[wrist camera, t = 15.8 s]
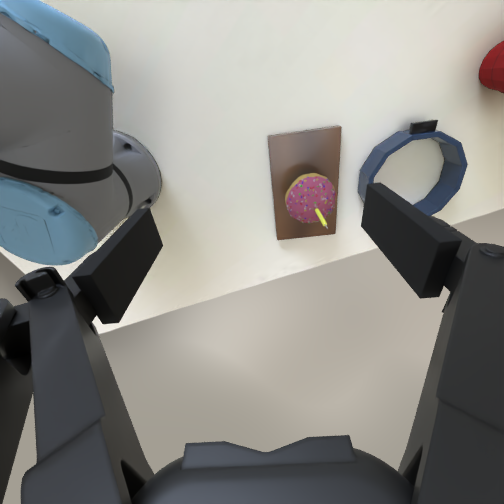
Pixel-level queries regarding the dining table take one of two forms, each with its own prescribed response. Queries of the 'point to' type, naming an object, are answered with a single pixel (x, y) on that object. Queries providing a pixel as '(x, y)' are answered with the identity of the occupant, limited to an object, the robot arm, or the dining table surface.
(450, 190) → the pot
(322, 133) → the cutting board
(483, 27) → the dining table surface
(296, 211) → the cupcake
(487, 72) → the plastic cup
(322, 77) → the dining table surface
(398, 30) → the dining table surface
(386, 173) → the dining table surface
